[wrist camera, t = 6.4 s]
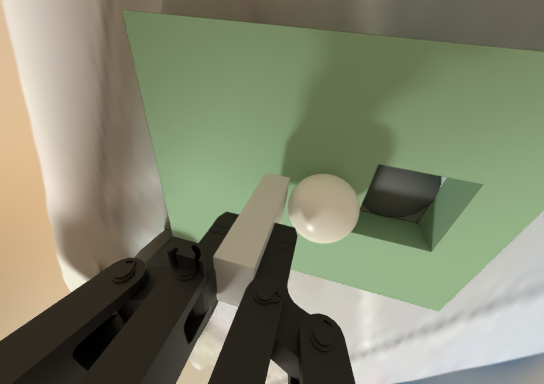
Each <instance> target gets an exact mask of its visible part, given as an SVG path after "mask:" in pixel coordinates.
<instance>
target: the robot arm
mask: <svg viewBox="0 0 544 384" xmlns="http://www.w3.org/2000/svg"><path fill="white" fill-rule="evenodd" d="M289 181H290V178H289V177H285V176H280V175H275V174H270V173H265V175H264V176H263V178H262V179H261V181H260V182H259V184H258V186H257V187H256V189H255V190H254V192H253V194H252V195H251V197H250V198H249V200H248V202H247V203H246V205H245V206H244V208H243V210H242V211H241V213H240V214H235V213H231V212H225V213H223V214H222V215H220V216H219V217H218V218H217V219H216V220H215V222H214V223H213V225H212V226H211V227H210V228H209V230H208V232H206V234H205V235H204V236H203V238H202V239H201V240H200V242H199V243H196V242H190V241H187V242H181V243H178V244H176V245H174V246H172V247H171V248H170V249H169V250H168V251H167V253H168V257H169V261H170V264H171V266H159V267H146V264H145V263H144V262H143V260H141V259H138V258H127V259H123V260H120V261H118V262H116V263H114V264H112V265H111V266H109V267H108V268H107V269H105V270H104V271H102V272H101V273H99V274H98V275H96V276H95V277H93V278H92V279H90V280H89V281H87V282H86V283H85V284H83V285H82V286H80V287H79V288H77V289H76V290H74V291H73V292H71V293H70V294H69V295H67V296H66V297H64V298H63V299H61V300H60V301H58V302H57V303H55V304H54V305H52V306H51V307H50V308H48V309H46V310H45V311H44V312H42V313H41V314H39V315H38V316H36V317H35V318H33V319H32V320H30V321H29V322H28V323H26V324H25V325H23V326H22V327H20V328H19V329H17V330H16V331H14V332H13V333H11V334H10V335H8V336H7V337H5V338H4V339H3V340H1V341H0V384H176V382H177V380H178V378H179V376H180V374H181V372H182V370H183V368H184V366H185V364H186V362H187V360H188V358H189V356H190V354H191V352H192V350H193V348H194V346H195V344H196V342H197V340H198V338H199V336H200V334H201V332H202V330H203V328H204V325H205V323H206V321H207V319H208V317H209V315H210V312H211V309H212V307H211V303H212V301H213V299H214V297H215V295H216V293H217V300H219V301H222V302H225V303H228V304H231V305H234V306H238V310H237V312H236V315H235V317H234V320H233V322H232V325H231V327H230V330H229V332H228V335H227V337H226V340H225V342H224V345H223V347H222V350H221V352H220V355H219V357H218V360H217V362H216V365H215V367H214V370H213V372H212V375H211V377H210V380H209V382H208V384H265V381H266V377H267V372H268V368H269V363H270V359H272V360H273V361H274V362H275V363H276V364H277V365H278V366H280V367H281V368H282V369H283V370H284V371H285V372H286V373H287V374H288V384H355V380H354V376H353V372H352V367H351V363H350V359H349V355H348V350H347V346H346V342H345V338H344V335H343V333H342V331H341V328H340V327H339V326H338V325H337V323H336V322H335V321H334V320H332V319H331V318H330V317H328V316H326V315H323V314H319V313H318V314H311V315H310V314H308V313H307V312H306V311H304V310H303V309H301V308H300V307H299V306H298V305H296V304H295V303H294V302H293V300H292V299H291V297H290V295H289V293H288V288H287V284H288V278H289V274H290V269H291V265H292V260H293V256H294V251H295V246H296V242H297V237H298V235H297V232H296V229H295V227H291V226H287V225H283V224H281V222H282V219H283V216H284V213H285V206H286V200H287V194H288V188H289Z"/></svg>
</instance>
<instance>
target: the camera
mask: <svg viewBox="0 0 544 384" xmlns="http://www.w3.org/2000/svg"><path fill="white" fill-rule="evenodd" d="M187 241H189V240H185V239H182V238H178V237H175V236H173V234H172V230H171V229H167V230H165V231H163V232H162V233H160V234H159V235H158V236H157V237H156V238H154V239H153V240H152V241H151V242H150V243H149V244H147V245H146V246H145V247H144V248H143V249H142V250H140V252H139V253H138V254H137V255H136V257H135V258H138V259H141V260H143V262H144V263H145V264H146V267H159V266H171V264H170V261H169V257H168V253H167V251H168V250H169V249H170V248H171V247H172V246H174V245H176V244H178V243H181V242H187ZM190 242H192V241H190ZM217 304H218V300H217V293H216V295H215V297H214V299H213V301H212V303H211V307H212V309H211V312H210V315H209V317H208V319H207V321H206V323H205V325H204V328H205V327H206V325H207V323H208V321H209V319H210V317H211V316H212V314H213V312H214V310H215V308H216V306H217ZM204 328H203V330H204ZM203 330H202V332H203ZM202 332H201V333H202ZM200 335H201V334H200ZM199 337H200V336H199Z"/></svg>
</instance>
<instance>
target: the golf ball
mask: <svg viewBox="0 0 544 384" xmlns="http://www.w3.org/2000/svg"><path fill="white" fill-rule="evenodd" d="M359 212H360V206H359V201H358V197H357V195H356V193H355V191H354V190H353V188H352V187H351V186H350V185H349V184H348V183H347V182H346V181H345V180H343V179H341V178H340V177H337V176H335V175H331V174H315V175H312V176H309V177H307V178H305V179H303V180H302V181H301V182H299V183H298V184H297V185H296V187H295V188H294V189H293V191H292V193H291V195H290V198H289V202H288V215H289V218H290V221H291V223H292V225H293V227H295V229H296V231H297V232H298V233H299V234H300V235H301V236H303V237H304V238H306V239H308V240H310V241H312V242H316V243H333V242H336V241H339V240H341V239H343V238H345V237H346V236H347V235H348V234H349V233H350V232H351V231H352V230H353V229H354V227H355V225H356V223H357V221H358V218H359Z"/></svg>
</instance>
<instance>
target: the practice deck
mask: <svg viewBox="0 0 544 384" xmlns="http://www.w3.org/2000/svg"><path fill="white" fill-rule="evenodd" d="M122 13H123V17H124V22H125V26H126V31H127V35H128V39H129V44H130V48H131V53H132V57H133V62H134V66H135V70H136V75H137V79H138V84H139V88H140V93H141V97H142V101H143V106H144V110H145V115H146V119H147V124H148V128H149V132H150V137H151V141H152V146H153V150H154V155H155V159H156V163H157V168H158V172H159V177H160V181H161V186H162V190H163V194H164V199H165V203H166V208H167V212H168V217H169V221H170V225H171V230H172V234H173V236H175V237H178V238H182V239H185V240H189V241H192V242H196V243H199V242H200V240H201V239H202V238H203V236H204V235H205V234H206V232H208V230H209V228H210V227H211V226H212V225H213V223H214V222H215V220H216V219H217V218H218V217H219V216H220V215H222V214H223V213H225V212H231V213H235V214H240V213H241V211H242V210H243V208H244V206H245V205H246V203H247V202H248V200H249V198H250V197H251V195H252V194H253V192H254V190H255V189H256V187H257V186H258V184H259V182H260V181H261V179H262V178H263V176H264V175H265V173H270V174H275V175H280V176H285V177H289V178H290V181H289V188H288V194H287V200H286V206H285V213H284V216H283V219H282V222H281V224H283V225H287V226H291V227H293V225H292V223H291V221H290V218H289V215H288V202H289V198H290V195H291V193H292V191H293V189H294V188H295V187H296V185H297V184H298V183H299V182H301V181H302V180H303V179H305V178H307V177H309V176H312V175H315V174H331V175H335V176H337V177H340V178H341V179H343V180H345V181H346V182H347V183H348V184H349V185H350V186H351V187H352V188H353V190H354V191H355V193H356V195H357V197H358V201H359V206H360V207H361V205H362V203H363V205H364V206H365V207H366V208H367V209H368V210H370V211H371V212H373V213H375V214H373V213H368V212H364V211H360V212H359V218H358V221H357V223H356V225H355V227H354V229H353V230H352V231H351V232H350V233H349V234H348V235H347V236H346V237H345V238H343V239H341V240H339V241H336V242H333V243H316V242H312V241H310V240H308V239H306V238H304V237H303V236H301V235H300V234H299V233H298V232H297V231H296V232H297V235H298V237H297V242H296V246H295V251H294V256H293V260H292V265H291V270H295V271H298V272H302V273H305V274H309V275H312V276H316V277H319V278H323V279H326V280H330V281H334V282H337V283H341V284H344V285H348V286H351V287H355V288H358V289H362V290H365V291H369V292H372V293H376V294H379V295H383V296H386V297H390V298H394V299H397V300H401V301H404V302H408V303H411V304H415V305H418V306H422V307H425V308H429V309H432V310H436V311H440V310H441V309H442V308H443V307H444V306H445V305H446V304H447V303H448V302H449V301H450V300H451V299H452V298H453V297H454V296H455V295H456V294H457V293H458V292H459V291H460V290H461V289H462V288H463V287H465V286H466V285H467V284H468V283H469V282H470V281H471V280H472V279H473V278H474V277H475V276H476V275H477V274H478V273H479V272H480V271H481V270H482V269H483V268H484V267H485V266H486V265H487V264H488V263H489V262H491V261H492V260H493V259H494V258H495V257H496V256H497V255H498V254H499V253H500V252H501V251H502V250H503V249H504V248H505V247H506V246H507V245H508V244H509V243H510V242H511V241H512V240H513V239H514V238H515V237H517V236H518V235H519V234H520V233H521V232H522V231H523V230H524V229H525V228H526V227H527V226H528V225H529V224H530V223H531V222H532V221H533V220H534V219H535V218H536V217H537V216H538V215H539V214H540V213H541V212H543V211H544V52H542V51H532V50H521V49H511V48H501V47H491V46H481V45H471V44H461V43H451V42H441V41H431V40H421V39H410V38H400V37H390V36H380V35H370V34H360V33H350V32H340V31H330V30H320V29H310V28H299V27H289V26H279V25H269V24H259V23H249V22H239V21H229V20H219V19H209V18H199V17H188V16H178V15H168V14H158V13H148V12H138V11H128V10H122ZM439 176H443V177H447V179H446V180H445V182H444V184H443V185H442V187H441V188H440V190H439V186H440V179H439ZM438 190H439V191H438ZM430 203H431V204H430ZM429 204H430V205H429ZM427 205H429V207H428V208H427V210H426V211H425V213H424V215H423V216H422V218H421V219H420V221H419V222H418V224H417V223H413V222H408V221H404V220H399V219H395V218H391V217H403V216H408V215H411V214H414V213H416V212H418V211H420V210H422V209H423V208H425V207H426V206H427ZM377 214H378V215H377Z"/></svg>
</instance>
